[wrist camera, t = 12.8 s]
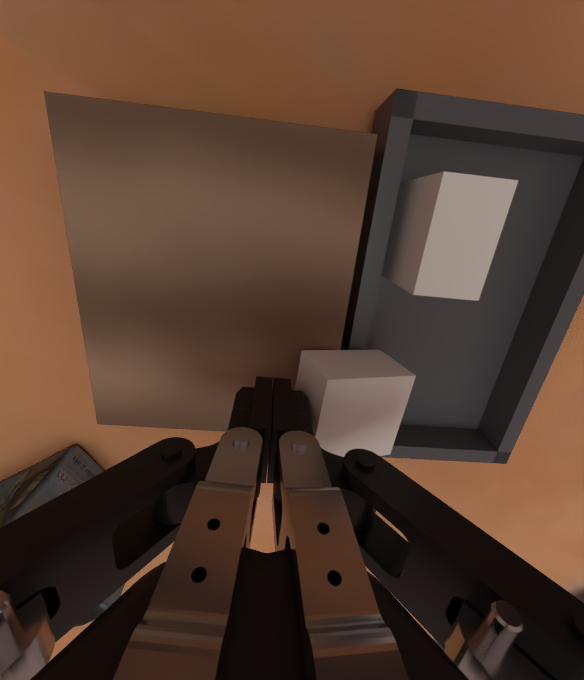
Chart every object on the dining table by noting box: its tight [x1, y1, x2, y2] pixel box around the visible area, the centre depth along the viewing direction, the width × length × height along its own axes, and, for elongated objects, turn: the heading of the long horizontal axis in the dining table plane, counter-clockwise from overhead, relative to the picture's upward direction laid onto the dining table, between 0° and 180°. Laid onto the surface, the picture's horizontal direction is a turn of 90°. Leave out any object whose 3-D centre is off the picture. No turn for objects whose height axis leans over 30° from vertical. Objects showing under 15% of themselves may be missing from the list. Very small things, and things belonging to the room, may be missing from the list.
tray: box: [340, 89, 584, 464], centre depth 15 cm, size 16×10×2 cm, turn 174°
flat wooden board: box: [44, 91, 378, 431], centre depth 14 cm, size 13×11×3 cm
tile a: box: [381, 171, 519, 301], centre depth 13 cm, size 4×4×2 cm
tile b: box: [295, 350, 416, 457], centre depth 14 cm, size 4×4×2 cm
